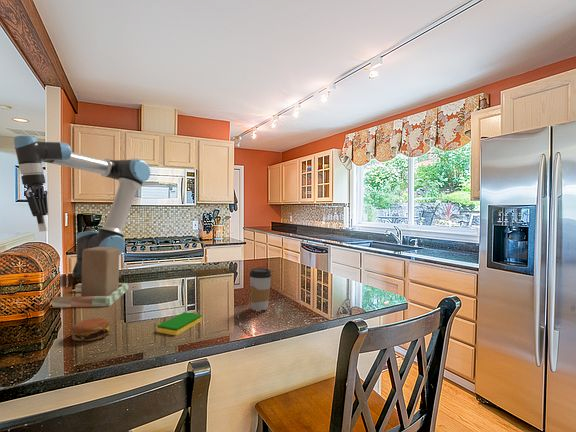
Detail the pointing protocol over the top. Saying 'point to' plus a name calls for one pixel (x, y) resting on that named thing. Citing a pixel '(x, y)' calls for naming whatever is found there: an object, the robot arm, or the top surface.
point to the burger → (90, 329)
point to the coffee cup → (259, 288)
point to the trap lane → (90, 298)
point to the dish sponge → (179, 323)
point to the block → (100, 271)
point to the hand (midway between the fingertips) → (44, 231)
